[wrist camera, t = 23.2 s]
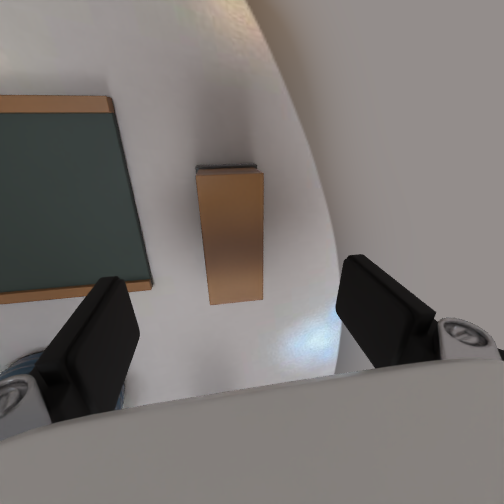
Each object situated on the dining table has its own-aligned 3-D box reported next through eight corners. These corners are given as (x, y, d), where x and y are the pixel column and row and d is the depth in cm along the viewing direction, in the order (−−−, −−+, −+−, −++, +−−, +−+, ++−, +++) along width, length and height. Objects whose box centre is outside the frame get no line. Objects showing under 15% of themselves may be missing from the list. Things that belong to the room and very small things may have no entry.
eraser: (196, 165, 20) (191, 172, 16) (254, 163, 21) (266, 169, 16) (208, 277, 25) (207, 307, 20) (255, 273, 25) (265, 301, 21)
